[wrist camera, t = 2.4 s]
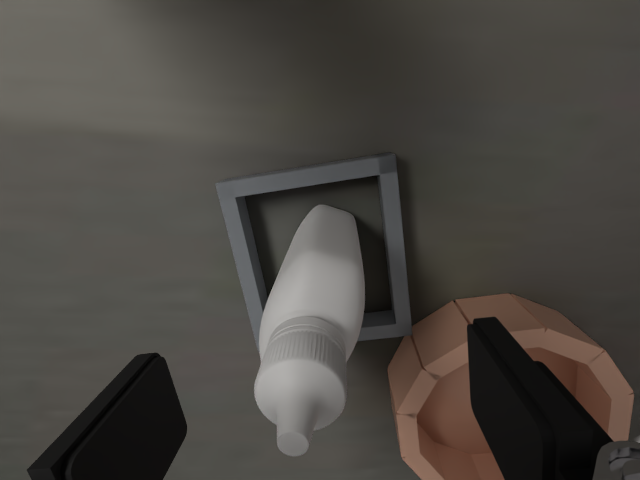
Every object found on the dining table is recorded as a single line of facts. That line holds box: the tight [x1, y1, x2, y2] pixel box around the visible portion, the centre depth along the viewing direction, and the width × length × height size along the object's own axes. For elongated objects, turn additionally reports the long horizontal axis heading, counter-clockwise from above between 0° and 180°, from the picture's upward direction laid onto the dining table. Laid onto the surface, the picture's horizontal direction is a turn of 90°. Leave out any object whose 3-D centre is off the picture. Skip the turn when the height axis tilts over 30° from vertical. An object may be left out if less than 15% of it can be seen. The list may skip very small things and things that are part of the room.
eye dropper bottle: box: [254, 205, 365, 456], centre depth 13 cm, size 4×6×12 cm
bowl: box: [387, 293, 634, 480], centre depth 19 cm, size 11×11×4 cm
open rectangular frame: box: [215, 152, 413, 352], centre depth 18 cm, size 10×9×2 cm
